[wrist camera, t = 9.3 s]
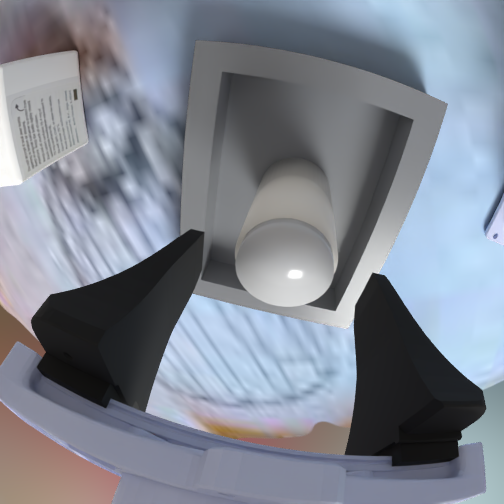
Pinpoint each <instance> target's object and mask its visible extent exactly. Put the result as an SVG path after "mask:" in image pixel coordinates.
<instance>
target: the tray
mask: <svg viewBox="0 0 504 504" xmlns="http://www.w3.org/2000/svg"><path fill="white" fill-rule="evenodd" d="M447 105H448V104H447V103H445V102H443V101H441V100H439V99H437V98H434V97H432V96H430V95H428V94H426V93H423V92H421V91H419V90H416V89H414V88H412V87H409V86H407V85H404V84H402V83H399V82H396V81H394V80H391V79H388V78H386V77H383V76H380V75H377V74H374V73H371V72H368V71H365V70H362V69H359V68H356V67H352V66H349V65H345V64H342V63H338V62H335V61H331V60H327V59H323V58H319V57H315V56H310V55H306V54H301V53H296V52H291V51H286V50H281V49H275V48H269V47H262V46H255V45H247V44H239V43H229V42H217V41H202V40H196V42H195V49H194V56H193V64H192V71H191V80H190V88H189V98H188V108H187V118H186V130H185V142H184V156H183V172H182V192H181V219H180V236H181V235H182V234H184V233H185V232H187V231H188V230H190V229H194V230H198V231H202V232H205V234H204V248H203V262H202V271H201V274H200V276H199V279H198V282H197V284H196V287H195V289H194V291H193V294H197V295H200V296H204V297H208V298H212V299H216V300H220V301H224V302H228V303H232V304H236V305H240V306H244V307H248V308H252V309H256V310H261V311H265V312H269V313H273V314H278V315H282V316H287V317H291V318H296V319H301V320H305V321H310V322H315V323H319V324H324V325H329V326H334V327H339V328H345V329H348V328H349V326H350V324H351V323H352V321H353V319H354V313H355V304H356V303H357V301H358V299H359V297H360V295H361V293H362V292H363V290H364V288H365V286H366V284H367V282H368V280H369V278H370V276H371V274H372V272H373V273H377V274H379V272H380V270H381V269H382V267H383V265H384V263H385V261H386V259H387V257H388V255H389V253H390V251H391V249H392V247H393V244H394V242H395V240H396V238H397V236H398V234H399V232H400V230H401V227H402V225H403V223H404V221H405V219H406V216H407V214H408V212H409V210H410V207H411V205H412V203H413V200H414V198H415V196H416V193H417V191H418V188H419V186H420V183H421V181H422V178H423V176H424V173H425V170H426V168H427V165H428V162H429V160H430V157H431V154H432V151H433V149H434V146H435V143H436V140H437V137H438V134H439V131H440V128H441V125H442V122H443V118H444V115H445V112H446V108H447ZM287 158H301V159H305V160H308V161H310V162H312V163H314V164H316V165H317V166H318V167H319V168H320V169H321V170H322V171H323V172H324V173H325V175H326V177H327V179H328V182H329V185H330V192H331V199H332V207H333V215H334V223H335V231H336V241H337V250H338V264H337V268H336V271H335V273H334V276H333V280H332V283H331V285H330V286H329V288H328V289H327V291H326V292H325V293H324V294H323V295H322V296H320V297H319V298H318V299H316V300H314V301H312V302H310V303H308V304H304V305H300V306H294V307H282V306H276V305H271V304H268V303H265V302H263V301H261V300H259V299H257V298H256V297H254V296H253V295H251V294H250V293H249V292H248V291H247V290H246V289H245V288H244V287H243V285H242V284H241V283H240V281H239V279H238V276H237V273H236V267H235V263H236V259H235V247H236V243H237V240H238V237H239V235H240V232H241V230H242V227H243V225H244V222H245V220H246V217H247V215H248V212H249V210H250V207H251V205H252V202H253V200H254V197H255V195H256V192H257V190H258V187H259V185H260V182H261V180H262V177H263V175H264V174H265V172H266V171H267V169H268V168H269V167H270V166H271V165H273V164H274V163H276V162H278V161H280V160H283V159H287Z"/></svg>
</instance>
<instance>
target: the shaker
mask: <svg viewBox="0 0 504 504" xmlns="http://www.w3.org/2000/svg"><path fill="white" fill-rule="evenodd" d="M235 259H236V263H235V267H236V273H237V276H238V279H239V281H240V283H241V284H242V285H243V287H244V288H245V289H246V290H247V291H248V292H249V293H250V294H251V295H253V296H254V297H256V298H257V299H259V300H261V301H263V302H265V303H268V304H271V305H276V306H282V307H294V306H300V305H304V304H308V303H310V302H312V301H314V300H316V299H318V298H319V297H320V296H322V295H323V294H324V293H325V292H326V291H327V289H328V288H329V286H330V285H331V283H332V280H333V276H334V273H335V271H336V268H337V264H338V250H337V241H336V231H335V223H334V215H333V207H332V199H331V192H330V185H329V182H328V179H327V177H326V175H325V173H324V172H323V171H322V170H321V169H320V168H319V167H318V166H317V165H316V164H314V163H312V162H310V161H308V160H305V159H301V158H287V159H283V160H280V161H278V162H276V163H274V164H273V165H271V166H270V167H269V168H268V169H267V171H266V172H265V174H264V175H263V177H262V180H261V182H260V185H259V187H258V190H257V192H256V195H255V197H254V200H253V202H252V205H251V207H250V210H249V212H248V215H247V217H246V220H245V222H244V225H243V227H242V230H241V232H240V235H239V237H238V240H237V243H236V247H235Z"/></svg>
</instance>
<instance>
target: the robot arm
mask: <svg viewBox="0 0 504 504" xmlns="http://www.w3.org/2000/svg"><path fill="white" fill-rule="evenodd" d="M495 233H496V234H495ZM204 234H205V232H202V231H198V230H194V229H190V230H188V231H187V232H185V233H184V234H182V235H181V236H180V237H178V238H177V239H175V240H174V241H172V242H171V243H170V244H168V245H167V246H165V247H164V248H162V249H161V250H159V251H158V252H156V253H155V254H153V255H152V256H150V257H148V258H147V259H145V260H143V261H142V262H140V263H138V264H136V265H135V266H133V267H131V268H129V269H127V270H125V271H123V272H121V273H118V274H116V275H114V276H111V277H109V278H106V279H104V280H101V281H99V282H96V283H93V284H90V285H87V286H84V287H81V288H77V289H73V290H69V291H65V292H60V293H56V294H51V295H50V296H49V297H48V298H47V299H46V301H45V302H44V303H43V304H42V306H41V307H40V308H39V310H38V311H37V312H36V313H35V315H34V316H33V317H32V320H31V324H32V329H33V331H34V333H35V335H36V336H37V338H38V340H39V341H40V343H41V345H42V346H43V348H44V350H45V351H46V353H45V355H44V356H43V358H42V357H41V356H40V355H39V354H37V353H36V352H35V351H33V350H31V349H30V348H28V347H26V346H25V345H23V344H22V343H20V342H16V344H15V345H14V347H13V348H12V350H11V351H10V353H9V354H8V355H7V357H6V359H5V360H4V362H3V363H2V365H1V366H0V401H1V402H2V403H3V404H4V405H6V406H7V407H8V408H9V409H10V410H11V411H12V412H13V413H15V414H16V415H17V416H19V417H20V418H21V419H22V420H24V421H25V422H26V423H28V424H29V425H31V426H32V427H34V428H35V429H36V430H38V431H40V432H41V433H43V434H44V435H45V436H47V437H49V438H50V439H52V440H54V441H55V442H56V443H58V444H60V445H61V446H63V447H65V448H66V449H68V450H70V451H71V452H73V453H75V454H77V455H78V456H80V457H82V458H84V459H86V460H88V461H90V462H91V463H93V464H95V465H98V466H99V467H101V468H103V469H105V470H107V471H110V472H112V473H114V474H116V475H118V476H120V477H121V479H120V481H119V484H118V487H117V490H116V492H115V495H114V498H113V500H112V503H111V504H456V503H459V502H462V501H465V500H467V499H470V498H473V497H476V496H478V495H481V494H483V493H485V492H486V480H485V465H484V455H483V446H482V443H481V442H478V443H471V444H465V445H461V446H459V447H458V440H460V439H461V438H462V434H461V431H462V430H463V429H465V428H466V427H468V426H469V425H471V424H472V423H474V422H475V421H477V420H478V419H479V418H480V417H481V416H482V415H483V414H484V412H485V410H486V405H485V400H484V396H483V391H482V390H481V389H480V388H479V387H478V386H476V385H475V384H474V383H472V382H471V381H470V380H469V379H467V378H466V377H465V376H464V375H463V374H462V373H461V372H459V371H458V370H457V369H456V368H455V367H454V366H453V365H452V364H451V363H450V362H449V361H448V360H447V359H446V358H445V357H444V356H443V355H442V354H441V353H440V351H439V350H438V349H437V348H436V347H435V346H434V344H433V343H432V342H431V341H430V340H429V338H428V337H427V336H426V335H425V333H424V332H423V331H422V329H421V328H420V326H419V325H418V324H417V322H416V321H415V319H414V318H413V317H412V315H411V314H410V312H409V311H408V309H407V308H406V306H405V305H404V303H403V301H402V300H401V298H400V297H399V295H398V294H397V292H396V291H395V289H394V288H393V286H392V285H391V283H390V282H389V280H388V279H387V277H386V276H385V275H381V274H377V273H373V272H372V274H371V276H370V278H369V280H368V282H367V284H366V286H365V288H364V290H363V292H362V293H361V295H360V297H359V299H358V301H357V303H356V304H355V313H354V336H355V350H356V366H357V381H356V394H355V403H354V411H353V417H352V423H351V429H350V434H349V439H348V443H347V447H346V451H345V455H335V454H324V453H313V452H305V451H297V450H290V449H283V448H277V447H271V446H265V445H259V444H255V443H249V442H245V441H240V440H236V439H232V438H227V437H223V436H219V435H215V434H211V433H208V432H204V431H200V430H197V429H194V428H190V427H187V426H184V425H180V424H177V423H174V422H171V421H168V420H165V419H162V418H159V417H156V416H154V415H151V414H148V413H145V411H146V407H147V404H148V400H149V396H150V393H151V390H152V386H153V383H154V380H155V377H156V374H157V371H158V368H159V365H160V362H161V359H162V357H163V354H164V351H165V348H166V346H167V343H168V340H169V338H170V336H171V333H172V331H173V329H174V327H175V325H176V323H177V321H178V319H179V318H180V316H181V314H182V312H183V310H184V308H185V306H186V304H187V302H188V301H189V299H190V297H191V295H192V293H193V291H194V289H195V287H196V284H197V282H198V279H199V276H200V274H201V271H202V262H203V248H204ZM494 234H495V236H493V235H494ZM485 236H486V237H487V239H489V240H491V241H494V242H496V243H498V244H501V245H503V246H504V194H503V196H502V199H501V201H500V203H499V205H498V207H497V209H496V211H495V213H494V215H493V217H492V219H491V221H490V223H489V225H488V227H487V229H486V231H485Z"/></svg>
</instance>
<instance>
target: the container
mask: <svg viewBox="0 0 504 504" xmlns="http://www.w3.org/2000/svg"><path fill="white" fill-rule="evenodd" d="M87 143H88V134H87V128H86V121H85V115H84V107H83V100H82V92H81V82H80V72H79V59H78V52H77V51H75V50H72V51H65V52H58V53H52V54H46V55H40V56H35V57H30V58H25V59H21V60H16V61H12V62H8V63H4V64H1V65H0V187H2V186H12V185H20V184H22V183H23V182H25V181H26V180H28V179H29V178H31V177H32V176H34V175H35V174H37V173H38V172H40V171H41V170H43V169H45V168H46V167H48V166H49V165H51V164H53V163H54V162H56V161H58V160H59V159H61V158H63V157H64V156H66V155H68V154H70V153H71V152H73V151H75V150H77V149H79V148H80V147H82V146H84V145H86V144H87Z"/></svg>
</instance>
